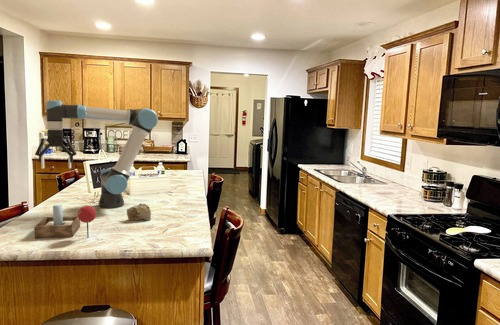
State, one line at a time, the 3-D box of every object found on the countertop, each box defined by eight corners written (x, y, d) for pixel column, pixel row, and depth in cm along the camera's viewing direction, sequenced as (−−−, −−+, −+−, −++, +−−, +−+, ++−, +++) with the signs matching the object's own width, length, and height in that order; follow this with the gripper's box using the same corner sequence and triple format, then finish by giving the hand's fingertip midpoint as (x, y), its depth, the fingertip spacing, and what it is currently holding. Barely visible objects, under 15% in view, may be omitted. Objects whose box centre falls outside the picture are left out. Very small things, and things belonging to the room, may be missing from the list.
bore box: (80, 226, 192) (79, 216, 192) (72, 236, 177) (72, 225, 176) (45, 228, 189) (45, 217, 188) (34, 238, 173) (34, 226, 173)
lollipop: (82, 235, 180) (81, 204, 178) (98, 234, 180) (98, 204, 179) (76, 240, 172) (75, 208, 170) (93, 240, 173) (92, 208, 171)
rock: (154, 215, 213) (148, 199, 210) (152, 220, 207) (146, 203, 204) (133, 221, 213) (126, 206, 210) (131, 226, 206) (124, 210, 203)
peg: (64, 228, 185) (63, 204, 184) (61, 231, 181) (61, 206, 180) (55, 229, 184) (54, 205, 183) (52, 231, 180) (51, 207, 179)
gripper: (81, 129, 212) (82, 167, 214) (32, 128, 206) (33, 167, 209) (78, 130, 204) (79, 169, 207) (27, 129, 199) (29, 169, 202)
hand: (56, 168), depth 208 cm, fingers open, 13 cm apart
